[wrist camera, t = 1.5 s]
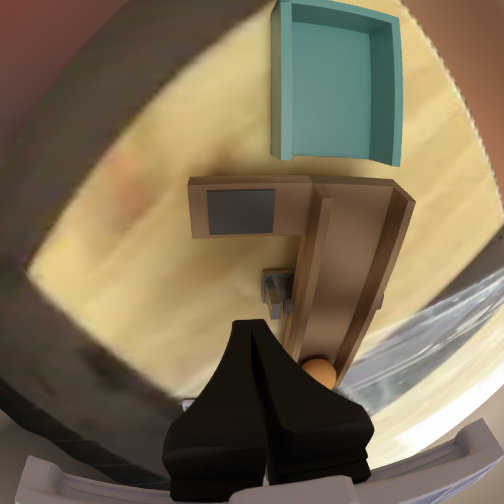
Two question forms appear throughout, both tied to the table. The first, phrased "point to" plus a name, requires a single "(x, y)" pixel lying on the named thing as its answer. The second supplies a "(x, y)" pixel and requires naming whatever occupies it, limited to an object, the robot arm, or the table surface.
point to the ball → (321, 372)
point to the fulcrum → (280, 289)
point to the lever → (315, 248)
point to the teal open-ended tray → (335, 82)
